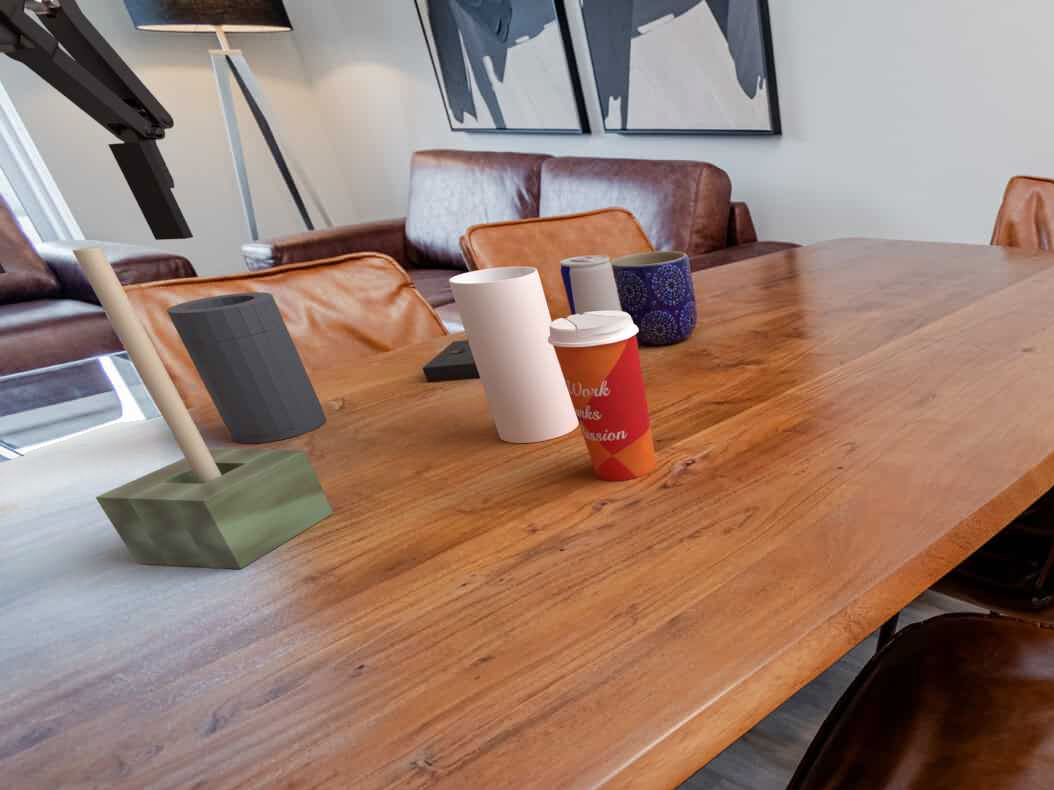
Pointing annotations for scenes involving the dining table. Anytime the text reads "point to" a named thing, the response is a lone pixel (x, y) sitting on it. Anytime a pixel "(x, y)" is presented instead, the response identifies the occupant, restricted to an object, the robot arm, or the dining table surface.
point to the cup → (515, 352)
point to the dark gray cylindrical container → (249, 366)
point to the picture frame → (452, 364)
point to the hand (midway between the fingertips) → (88, 255)
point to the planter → (657, 295)
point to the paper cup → (606, 390)
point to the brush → (147, 361)
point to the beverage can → (590, 284)
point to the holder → (218, 509)
